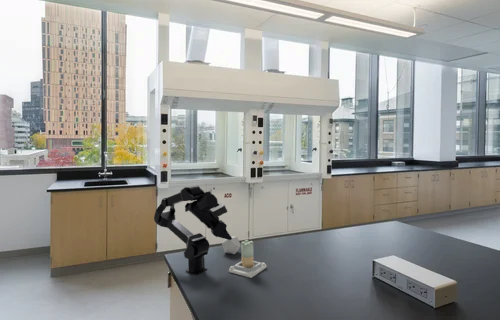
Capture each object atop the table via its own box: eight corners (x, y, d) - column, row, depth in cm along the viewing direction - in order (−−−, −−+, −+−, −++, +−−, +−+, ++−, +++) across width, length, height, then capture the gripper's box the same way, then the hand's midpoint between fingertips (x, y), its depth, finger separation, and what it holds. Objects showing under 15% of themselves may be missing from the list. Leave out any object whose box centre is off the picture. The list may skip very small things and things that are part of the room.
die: (243, 252, 157) (236, 234, 161) (241, 249, 150) (234, 230, 154) (228, 259, 157) (221, 240, 161) (225, 256, 149) (218, 237, 153)
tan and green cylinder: (249, 270, 131) (248, 244, 130) (239, 267, 134) (238, 242, 133) (255, 265, 135) (255, 241, 134) (246, 263, 138) (245, 239, 137)
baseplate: (251, 277, 127) (251, 272, 127) (228, 271, 133) (228, 266, 133) (266, 267, 137) (266, 262, 137) (244, 262, 143) (244, 257, 143)
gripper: (220, 202, 125) (247, 227, 130) (210, 194, 143) (234, 216, 147) (201, 224, 123) (229, 248, 128) (193, 213, 141) (218, 235, 145)
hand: (228, 236), depth 137 cm, fingers open, 9 cm apart
